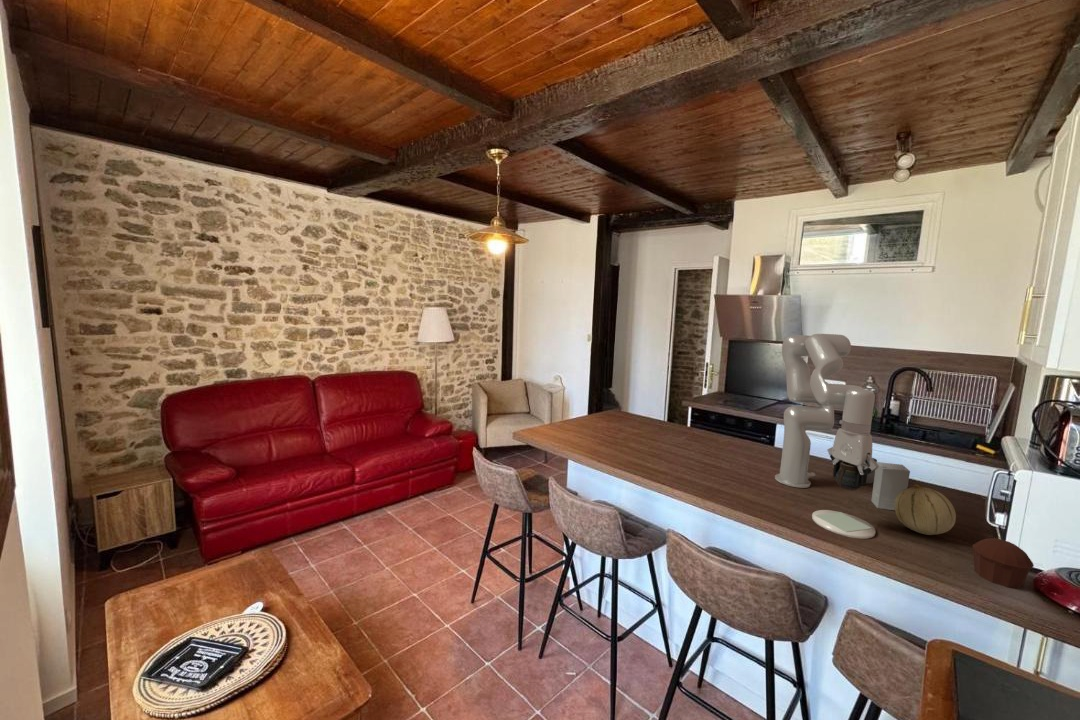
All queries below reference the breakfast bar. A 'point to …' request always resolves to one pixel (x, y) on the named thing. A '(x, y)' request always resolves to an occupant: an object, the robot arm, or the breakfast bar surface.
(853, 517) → the stand
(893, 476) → the skincare box
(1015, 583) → the muffin
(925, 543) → the breakfast bar surface
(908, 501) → the cantaloupe
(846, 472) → the mate gourd
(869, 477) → the cup
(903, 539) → the breakfast bar surface
